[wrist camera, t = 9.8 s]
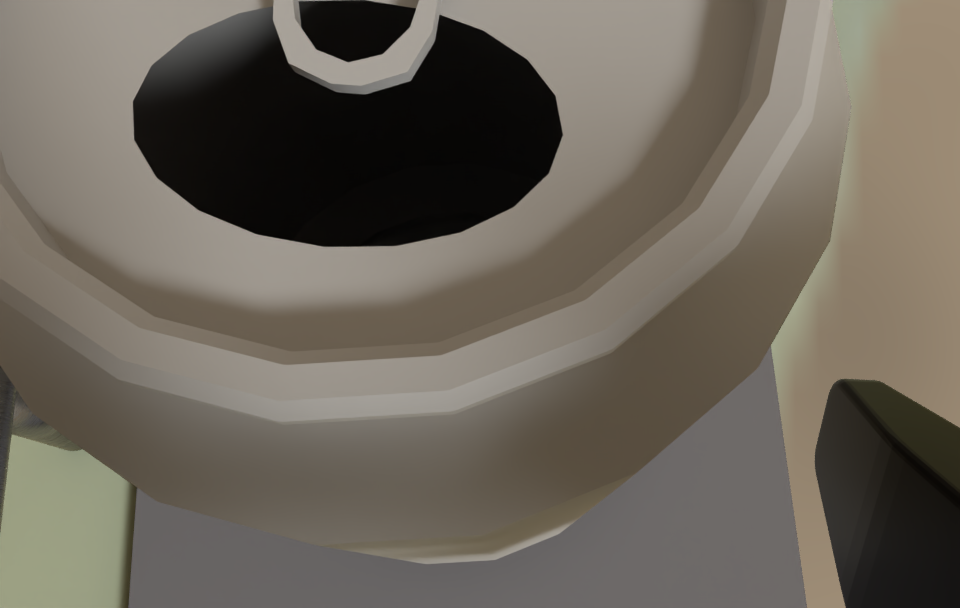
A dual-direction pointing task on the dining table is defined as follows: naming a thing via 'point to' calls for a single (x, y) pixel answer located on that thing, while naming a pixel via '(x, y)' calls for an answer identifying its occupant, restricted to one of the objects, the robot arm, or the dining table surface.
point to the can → (404, 246)
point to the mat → (542, 566)
